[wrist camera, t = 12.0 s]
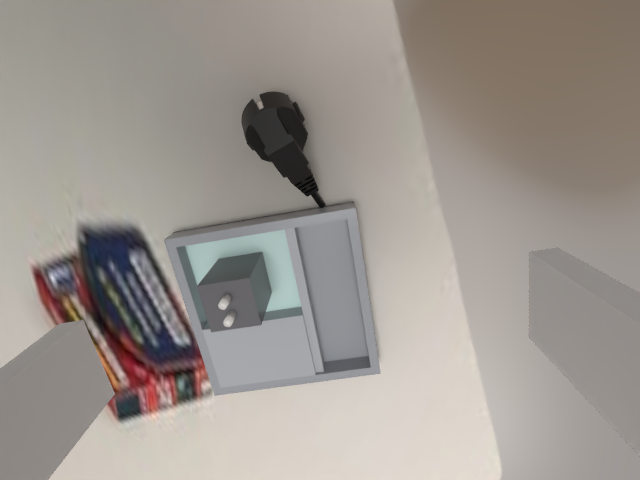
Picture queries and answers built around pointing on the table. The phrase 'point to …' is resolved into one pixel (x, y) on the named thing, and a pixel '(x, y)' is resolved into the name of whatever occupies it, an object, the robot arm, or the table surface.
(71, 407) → the robot arm
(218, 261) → the connector
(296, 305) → the walled box
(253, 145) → the power plug
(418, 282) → the table surface
